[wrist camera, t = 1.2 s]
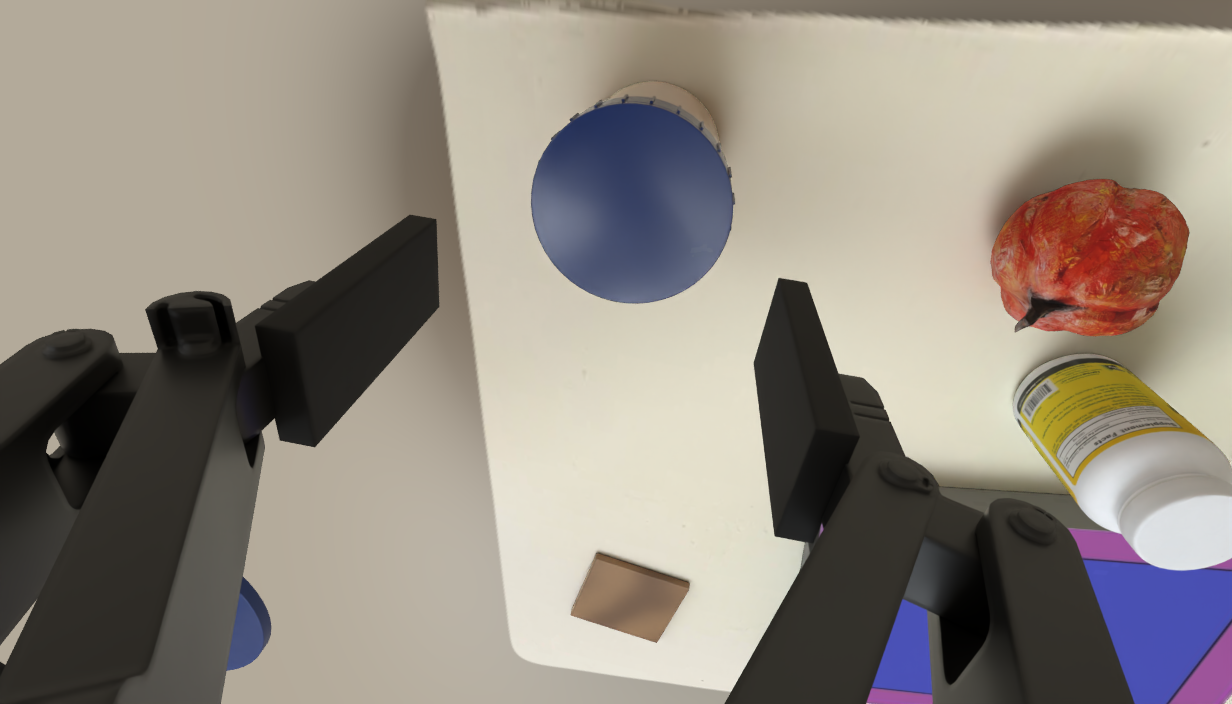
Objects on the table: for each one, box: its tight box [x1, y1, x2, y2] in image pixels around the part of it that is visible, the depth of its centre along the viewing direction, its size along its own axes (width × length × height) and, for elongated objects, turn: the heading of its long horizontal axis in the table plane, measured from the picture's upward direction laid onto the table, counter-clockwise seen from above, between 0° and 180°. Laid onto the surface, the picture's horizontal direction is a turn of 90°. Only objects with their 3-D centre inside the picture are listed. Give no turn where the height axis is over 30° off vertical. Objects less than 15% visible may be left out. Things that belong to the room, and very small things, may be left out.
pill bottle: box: [1013, 354, 1232, 570], centre depth 31 cm, size 6×6×11 cm
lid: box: [531, 94, 735, 303], centre depth 24 cm, size 8×8×2 cm
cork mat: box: [571, 553, 690, 643], centre depth 50 cm, size 8×8×1 cm
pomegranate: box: [991, 179, 1190, 336], centre depth 28 cm, size 7×7×10 cm
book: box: [800, 487, 1232, 704], centre depth 43 cm, size 21×3×30 cm
